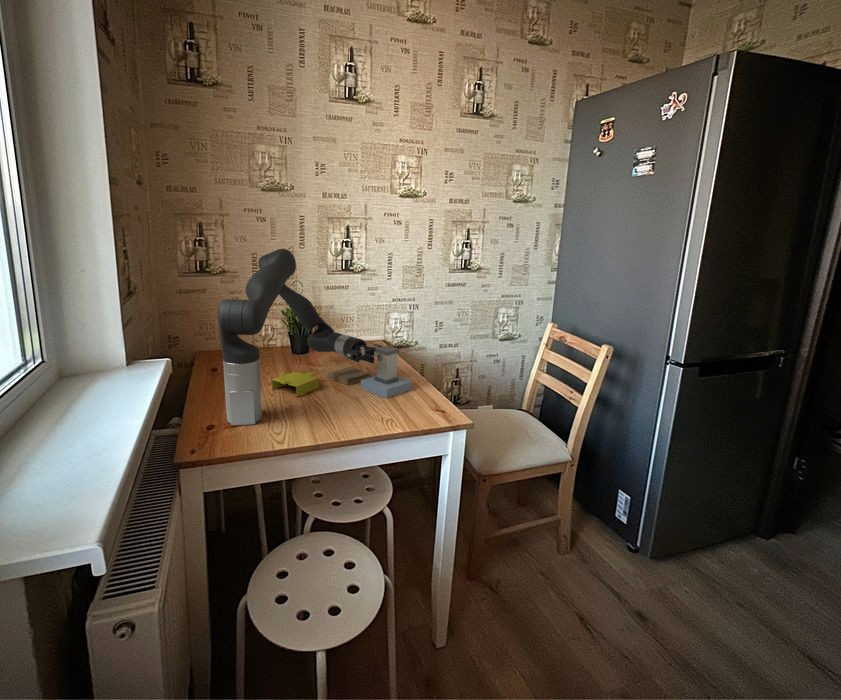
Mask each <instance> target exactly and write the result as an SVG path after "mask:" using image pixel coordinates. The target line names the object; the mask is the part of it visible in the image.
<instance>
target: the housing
mask: <svg viewBox="0 0 841 700" xmlns="http://www.w3.org/2000/svg"><path fill="white" fill-rule="evenodd" d="M382 346H383V347H379V348H375V351H374V353H376V352H377V357H376V375H377V376H376V375H375V376H376V377H375V381H378V382H380V383H383V384H386V385H387V384H390V383H393V382H397V381H398V380H399V377H400V376H398V375H397V372H398V371H397V370H398V354H399V353H400V351H401V350H400V348H397V347H394V346H391V345H387V344H386V345H382ZM396 376H398V377H396Z"/></svg>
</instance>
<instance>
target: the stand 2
mask: <svg viewBox="0 0 841 700" xmlns="http://www.w3.org/2000/svg"><path fill="white" fill-rule="evenodd" d="M376 376H377V374H376V375H374V376H373V375H372V376H370V378H366V379H363V380H361V382H360V389H361V390H364V391H366V392H368V393H371V394H373V395H376V396H379V397H382V398H383V399H386V400H387V399H390V398H392V397H395V396H398V395H400V394H404V393H406V392H409V391H412V390H413V380H410V379H407V378H404V377H401V376H398V375H397V376H396V377H399V380H398V381H397V382H393V383H390V384H387V385H386V384H383V383H380V382H378V381H375V377H376Z"/></svg>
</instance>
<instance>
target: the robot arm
mask: <svg viewBox="0 0 841 700" xmlns="http://www.w3.org/2000/svg"><path fill="white" fill-rule="evenodd" d="M258 268H259V269H258V270H257V271H256V272H255V273H254V274H253V275H252V276H251V277H250V278H249V279H248V280H247V283H246V285H245V295H246V298H247V299H241V298H240V299H239V298H237V299H236V298H235V299H234V298H226V299H222V300H221V301H220V303H219V305H218V307H217V308H218V309H217V324H218V331H219V338H220V340H219V341H220V348H221V349H220V350H221V354H222V365H223V379H224V395H225V409H226V411H225V413H226V422H228V423H229V424H230V425H231V426H245V425H247V426H248V425H249V426H250V425H256V423H258V422H259V421H261V419H262V418H263V404H262V388H261V387H262V385H261V384H262V383H261V361H260V359H261V358H260V356H261V355H260V350H259V347H257V346H256V345H254V344H251V343H250V342H246V341H245V340H244V339H242V338H241V337H240V336H254V335H257V334H259V333H260V332H261V331H262V329H263V327H264V325H265V323H266V320H267V317H268V315H269V311H270V309H271V307H272V306H273V304H274V302H275V301H276V299H277V298H278V296H280V297H281V299H282V300H283V301H284V302H285V303H286V304H287V305H288V307H289V308H290V309H291V310H292V312H293V313H294V315H295V316H296V319H297V320H298V321H299V323H300V325H301V326H302V328H303V329H305V330H310V329H313V328H316V327H317V328H316V329H315V330H314V331H313V332H312V333H311V334H309V335H308V337H307V341H306V342H307V346H308V347H309V348H311V350H313V351H315V352H319V353H328V352H329V353H331V352H333V353H335V354H339V355H340V356H342V357H345V358H346V359H348V360H351V361H354V362H355V363H360V362H362V363H363V362H366V363H367V362H368V363H370V364H374V363H375V358H377V352H375V348H379V347H383V346H384V345H381V344H377V343H376V344H375V343H374V345H370V344H369V345H368V344H367V343H366V341H365V340H363V339H361V338H358V337H355V336H352V335H348V334H347V335H346V334H342V333H339V332H335V330H334V329H333V327H331V325H329V324H328V322H326V321H325V320H324V319H323V318H322V317H321V316H320V315H319V314H318V313H319V312H317V310H316V308H315V306H314V305H313V304H312V302H311V301H310V300H309V299H308V298H307V297H305V296H304V295H302V294H300V293H299V292H297V291H295V290H293V289H291V288H290V287H289V286H288V285H286V283H287V281H288V280H289V279H290V277H291V276H292V275H294V273H295V272H296V270H297V262H296V258H295V256H294V254H293V253H292V252H291V251H290V250H288V249H286V248H278V249H276V250H273V251H271V252H269V253H266V254H265V255H262V256H261V257H259V259H258ZM239 335H240V336H239Z"/></svg>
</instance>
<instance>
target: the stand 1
mask: <svg viewBox="0 0 841 700" xmlns="http://www.w3.org/2000/svg"><path fill="white" fill-rule="evenodd" d="M370 374H371V373H369V372H367V371H364V370H362V369H358V368H355V367H353V366H349V367H345V368H342V369H341V368H340V369H337V370H334V371H329V372H328V379H330V378H331V379H330V380H333V379H334V380H333V381H335V380H336V381H335V382H338V381H339V382H338V383H340V382H342V383H341V384H343V383H344V384H343V385H345V384H346V386H350V384H351V385H354V384H358V383H361V380H363V379H366V378H370V377H371V375H370ZM357 382H358V383H357Z"/></svg>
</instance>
